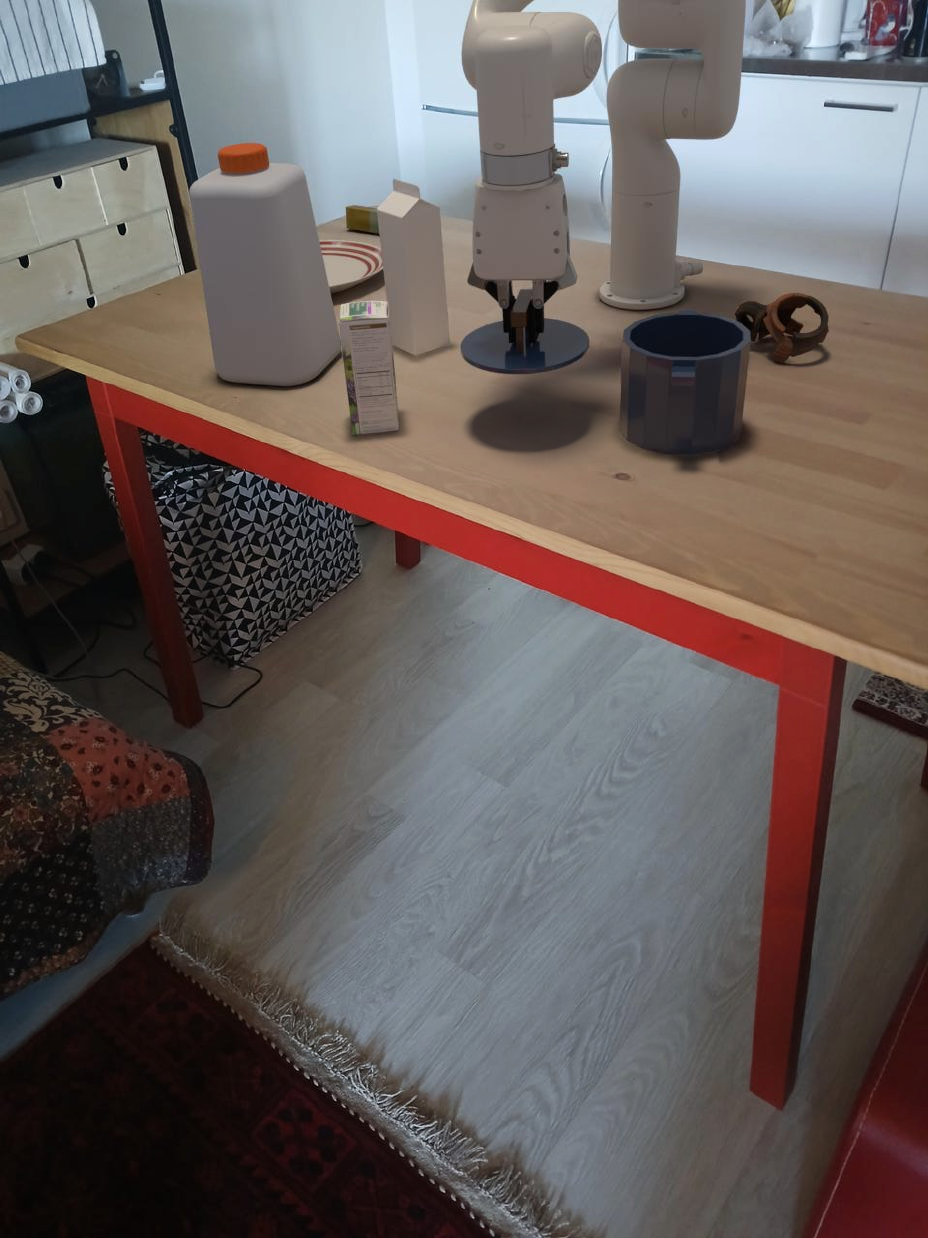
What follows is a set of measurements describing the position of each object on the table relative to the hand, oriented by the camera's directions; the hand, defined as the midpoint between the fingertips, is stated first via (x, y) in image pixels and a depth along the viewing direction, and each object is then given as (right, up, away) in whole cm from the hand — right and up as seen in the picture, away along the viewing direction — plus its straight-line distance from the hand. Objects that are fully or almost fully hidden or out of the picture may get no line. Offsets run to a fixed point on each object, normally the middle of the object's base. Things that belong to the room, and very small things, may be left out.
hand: (524, 337), depth 116 cm
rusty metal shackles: (+35, +4, +20) cm, 40 cm away
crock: (+18, -10, +3) cm, 21 cm away
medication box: (-23, +40, +74) cm, 87 cm away
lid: (0, -1, +1) cm, 1 cm away
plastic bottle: (-32, +3, +26) cm, 42 cm away
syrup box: (-17, -9, +9) cm, 21 cm away
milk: (-13, +6, +28) cm, 31 cm away
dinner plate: (-33, +24, +54) cm, 68 cm away
